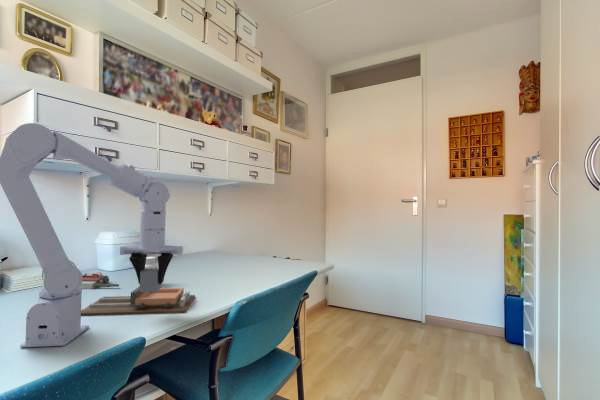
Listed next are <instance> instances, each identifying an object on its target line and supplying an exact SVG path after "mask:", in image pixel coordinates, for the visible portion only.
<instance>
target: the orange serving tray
mask: <svg viewBox="0 0 600 400" xmlns="http://www.w3.org/2000/svg"><path fill="white" fill-rule="evenodd" d="M184 289H185V288H183V287H180V288H179V287H174V288H173V287H172V288H170V287H169V288H168V287H167V288H165V287H164V288H160V289H159V290H158V291H157V292H140V285H139V286H138V287H136V288H135V289H134V290H132V291H130V296H131V300H130V305H139V309H143V308H144V307H145V305H163V304H165V305H164V307H165V308H166V309H168V308H169V307H170V306H171V304H176V302H177V301H178V300H179V299H180V297H181V296H182V295H184V294H185V292H184V291H185V290H184Z"/></svg>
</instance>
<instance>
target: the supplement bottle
mask: <svg viewBox="0 0 600 400" xmlns="http://www.w3.org/2000/svg"><path fill="white" fill-rule="evenodd" d="M146 268H158V263H156V256H147V257H146V263H145V269H146Z"/></svg>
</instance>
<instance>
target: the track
mask: <svg viewBox="0 0 600 400" xmlns="http://www.w3.org/2000/svg"><path fill="white" fill-rule="evenodd" d="M195 298H196V295H195V294H191V292H190V290H188V291H185V292H184V294H183V295H182V296H181V297H180V299H179V300H178V301H177V302H176V304H171V306H170V307H169V308H168V309H166V308H165V307H164V305H165V304H163V305H145V307H144V308H143V309H139V305H130V300H131V295H130V296H129V295H128V296H127V295H126V296H121V295H120V296H119V295H118V296H103V297H100V298H99V299H98V300H96V301H94V302H93V303H91V304H89V305H88V306H86V307H85V308H83V309H81V317H82V316H85V317H86V316H118V315H119V316H121V315H157V314H185V313H186V312H187V310H188V308H189V307H190V305H191V304H192V302H193V301H194V299H195Z"/></svg>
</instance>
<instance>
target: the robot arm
mask: <svg viewBox="0 0 600 400" xmlns="http://www.w3.org/2000/svg"><path fill="white" fill-rule="evenodd" d="M51 154H53V156H52V159H54V160H57V159H58V160H72V161H73V162H75V163H77V164H80V165H82V166H83V167H86V168H88V169H91V170H92V171H95V172H97V173H99V174H101V175H103V176H105V177H107V179H108V182H109V184H110V185H111V186H113V187H115V188H117V189H119V190H120V191H122V192H124V193H127V194H129V195H130V196H133V197H135V198H138V199H139V201H140V202H141V207H140V209H141V210H140V225H139V226H140V227H139V229H140V231H139V232H140V233H139V245H123V246H120V247H119V255H121V256H125V255H130V256H129V262H130V263H131V264H132V267H133V268H134V271H135V274H136V278H137V281H138V285H140V271H142V270H144V269H145V263H146V257H148V255H159V256H157V268H159V274H158V284H162V285H163V283H164V280H165V275H166V272H167V270H168V267H169V265H170V262H171V261H172V259H173V256H174V255H177V256H179V255H180V256H181V255H183V254H184V246H183V245H179V246H178V245H165V244H166V215H167V212H166V211H167V210H166V207H167V206H166V205H167V202H168V201H169V199H170V197H171V193H170V191H169V189H168V188H167V185H165V184H164V183H163V182H159V181H154V180H153V179H154V177H152V176H147V175H145V174H143V173H141V172H139V171H137V170H136V167H135V166H134V165H132V164H129V165H127V164H125V163H122V164H117V165H116V164H114V163H112V162H110V161H109V160H107V159H105V158H104V157H102V156H100V155H98V154H97V153H95V152H93V151H92V150H90V149H88V148H87V147H85V146H83V145H81V144H80V143H78V142H76V141H75V140H73V139H71V138H69V137H67V136H66V135H64V134H62V133H60V132H57V131H55V130H53V131H51V130H50V129H49V128H48V127H47V126H45V125H43V124H40V123H34V122H29V123H23V124H21V125H19V126H17V127H16V128H15V129H14V130H13V131H12V132H11V133H10V134H9V135H8V136H7V137H5V142H4V146H3V148H2V151H1V154H0V185H1V188H2V190H3V192H4V194H5V196H6V198H7V200H8V202H9V204H10V207H11V208H12V210H13V211H14V214H15V216H16V218H17V221H18V222H19V224H20V226H21V228H22V230H23V231H24V234H25V236H26V238H27V241H28V242H29V244H30V247H31V249H32V250H33V252H34V254H35V257H36V258H37V261H38V263H39V265H40V267H41V269H42V272H41V279H42V281H43V289H42V290H41V291H40V292H39V294H38V299H37V302H36V303H35V304H34V305H33V306H32V307H30V309H29V310H28V311H27V313H26V316H25V317H26V319H25V320H26V321H25V322H26V323H25V341H24V342H23V343H21V344H20V345H19V347H20V348H32V347H33V348H38V347H39V348H42V347H60V346H66V345H67V344H69V343H70V342H71V341H72V340H74V339H75V338H76V337H78V336H79V335H80V334H82V333H84V332H85V331H86V330H87V329H89V327H90V325H89V324H82V325H81V322H82V321H81V320H82V316H81V310H82V295H83V294H82V291H83V289H82V288H80V285H81V283H82V280H83V276H82V275H83V273H82V271H81V270H80V269H79V268H78V267H77V265H76V264H75V263H74V262H73V261H72V260H71V259H69V257H68V255H67V253H66V252H65V249H64V247H63V246H62V244H61V242H60V239H59V237H58V235H57V233H56V231H55V229H54V226H53V225H52V222H51V220H50V218H49V216H48V214H47V212H46V209H45V207H44V205H43V202H42V201H41V200H40V197H39V194H38V193H37V191H36V190H37V189H36V188H35V187H34V184H33V181H32V180H31V178H30V175H31V174H32V172H33V171H34V169H35V168H36V166H37V165H38V164H39V163H40V162H42V161H43V160H44V159H46V158H47V157H49V156H50V155H51Z"/></svg>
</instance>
